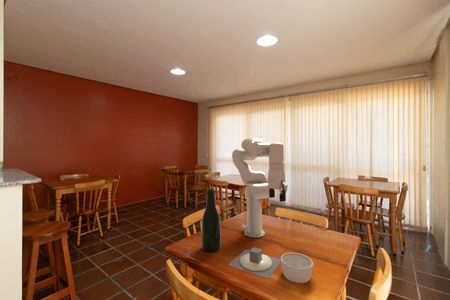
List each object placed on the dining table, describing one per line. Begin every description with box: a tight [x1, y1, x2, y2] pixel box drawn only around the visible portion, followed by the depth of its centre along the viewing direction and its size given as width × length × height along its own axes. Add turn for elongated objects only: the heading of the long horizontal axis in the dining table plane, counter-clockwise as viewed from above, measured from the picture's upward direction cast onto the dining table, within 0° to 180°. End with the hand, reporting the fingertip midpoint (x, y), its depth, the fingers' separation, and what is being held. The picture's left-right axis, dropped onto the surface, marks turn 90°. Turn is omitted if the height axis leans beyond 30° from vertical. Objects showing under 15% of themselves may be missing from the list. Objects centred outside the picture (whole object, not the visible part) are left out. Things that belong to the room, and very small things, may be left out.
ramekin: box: [280, 252, 314, 284], centre depth 92 cm, size 13×13×7 cm
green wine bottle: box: [201, 187, 222, 253], centre depth 118 cm, size 10×10×33 cm
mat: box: [228, 249, 281, 280], centre depth 103 cm, size 20×18×1 cm
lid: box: [240, 246, 272, 271], centre depth 103 cm, size 15×15×6 cm
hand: (277, 199), depth 112 cm, fingers open, 9 cm apart
